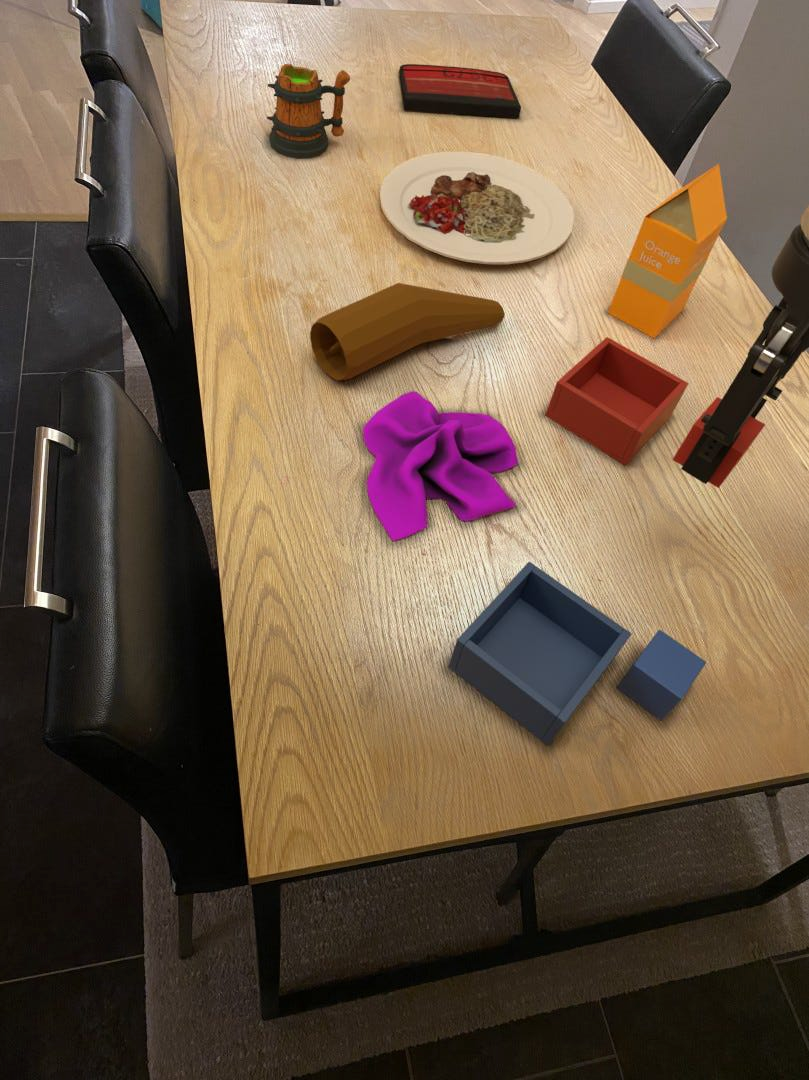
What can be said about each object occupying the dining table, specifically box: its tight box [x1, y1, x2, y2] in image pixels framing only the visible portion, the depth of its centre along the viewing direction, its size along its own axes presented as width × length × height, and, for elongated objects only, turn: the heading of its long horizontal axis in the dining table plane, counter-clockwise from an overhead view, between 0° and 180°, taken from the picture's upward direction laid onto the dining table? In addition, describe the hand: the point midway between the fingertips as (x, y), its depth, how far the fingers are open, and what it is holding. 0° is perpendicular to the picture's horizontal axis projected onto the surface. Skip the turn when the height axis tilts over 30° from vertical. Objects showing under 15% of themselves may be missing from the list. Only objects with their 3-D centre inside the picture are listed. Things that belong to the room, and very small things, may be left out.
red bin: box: [544, 336, 689, 466], centre depth 92 cm, size 12×12×6 cm
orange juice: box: [607, 163, 728, 339], centre depth 99 cm, size 8×9×20 cm
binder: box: [398, 63, 522, 119], centre depth 139 cm, size 16×2×21 cm
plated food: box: [379, 150, 575, 265], centre depth 116 cm, size 30×30×3 cm
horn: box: [309, 282, 506, 381], centre depth 96 cm, size 8×10×25 cm
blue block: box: [616, 629, 707, 721], centre depth 71 cm, size 5×5×5 cm
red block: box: [672, 396, 766, 489], centre depth 71 cm, size 5×5×5 cm
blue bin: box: [447, 561, 633, 747], centre depth 71 cm, size 12×12×6 cm
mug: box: [266, 63, 351, 160], centre depth 120 cm, size 13×10×12 cm
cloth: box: [362, 390, 519, 542], centre depth 84 cm, size 22×19×6 cm
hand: (708, 457), depth 73 cm, fingers closed on red block, 5 cm apart
